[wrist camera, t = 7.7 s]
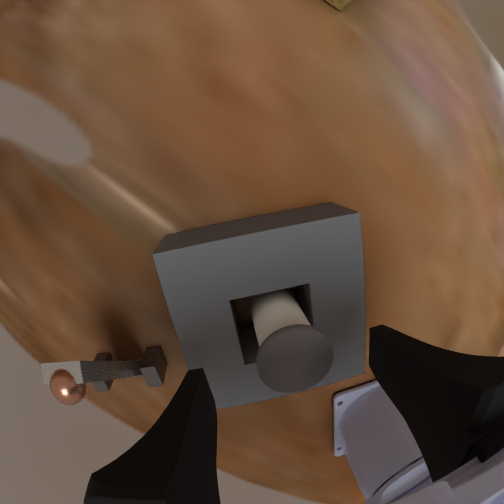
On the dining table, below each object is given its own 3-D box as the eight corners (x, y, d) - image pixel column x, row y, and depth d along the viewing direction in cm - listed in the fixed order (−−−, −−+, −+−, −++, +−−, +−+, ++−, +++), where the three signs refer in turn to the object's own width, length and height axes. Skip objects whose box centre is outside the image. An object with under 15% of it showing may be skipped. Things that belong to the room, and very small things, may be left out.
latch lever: (144, 358, 19) (150, 388, 19) (114, 362, 19) (120, 391, 18) (73, 358, 11) (82, 407, 10) (34, 361, 10) (41, 406, 10)
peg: (294, 310, 20) (333, 383, 12) (245, 319, 20) (263, 399, 12) (289, 264, 19) (333, 323, 12) (237, 273, 19) (253, 340, 11)
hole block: (342, 340, 21) (364, 372, 17) (205, 371, 20) (205, 410, 17) (331, 202, 18) (359, 212, 14) (165, 234, 17) (152, 254, 14)
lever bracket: (167, 364, 20) (162, 385, 18) (105, 371, 20) (97, 391, 17) (160, 345, 19) (154, 366, 17) (97, 353, 19) (87, 373, 17)
